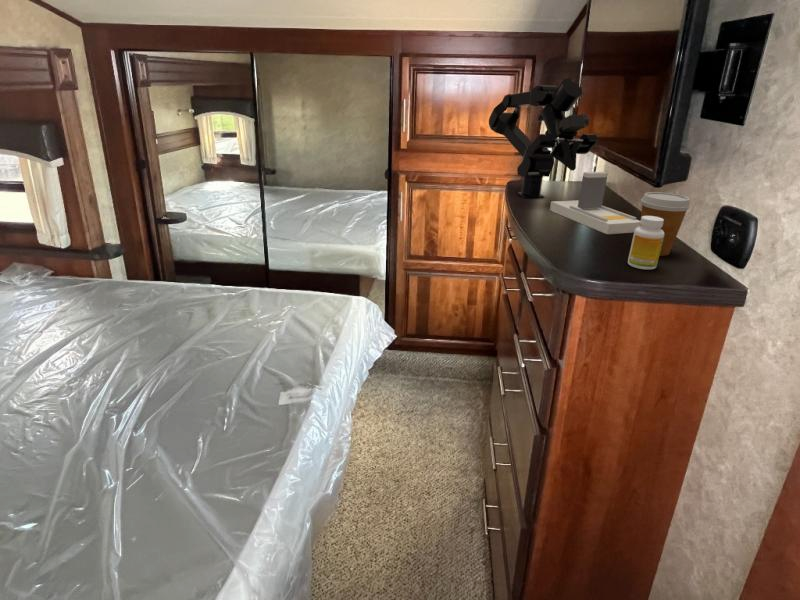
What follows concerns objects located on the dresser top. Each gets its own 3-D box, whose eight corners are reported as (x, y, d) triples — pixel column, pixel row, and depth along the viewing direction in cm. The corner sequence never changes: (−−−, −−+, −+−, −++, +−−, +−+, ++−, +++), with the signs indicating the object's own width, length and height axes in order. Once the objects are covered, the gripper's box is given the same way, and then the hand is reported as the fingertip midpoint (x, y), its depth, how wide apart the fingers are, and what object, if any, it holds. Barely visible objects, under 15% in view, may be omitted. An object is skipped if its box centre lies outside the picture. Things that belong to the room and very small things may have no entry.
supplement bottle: (659, 271, 101) (671, 222, 97) (630, 268, 102) (641, 220, 98) (652, 262, 106) (664, 215, 102) (624, 260, 107) (635, 213, 103)
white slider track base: (549, 210, 145) (551, 199, 144) (579, 208, 148) (581, 198, 147) (607, 234, 124) (609, 221, 123) (640, 231, 127) (643, 219, 126)
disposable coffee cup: (621, 248, 114) (633, 194, 109) (645, 242, 119) (657, 190, 114) (663, 261, 107) (677, 203, 102) (686, 253, 112) (701, 198, 107)
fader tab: (577, 207, 136) (583, 172, 133) (596, 206, 138) (602, 171, 135) (582, 208, 135) (588, 173, 131) (601, 207, 137) (608, 173, 133)
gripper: (541, 102, 136) (560, 151, 131) (600, 103, 142) (620, 150, 137) (522, 130, 146) (538, 177, 141) (577, 130, 152) (595, 175, 147)
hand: (573, 169), depth 141 cm, fingers closed
